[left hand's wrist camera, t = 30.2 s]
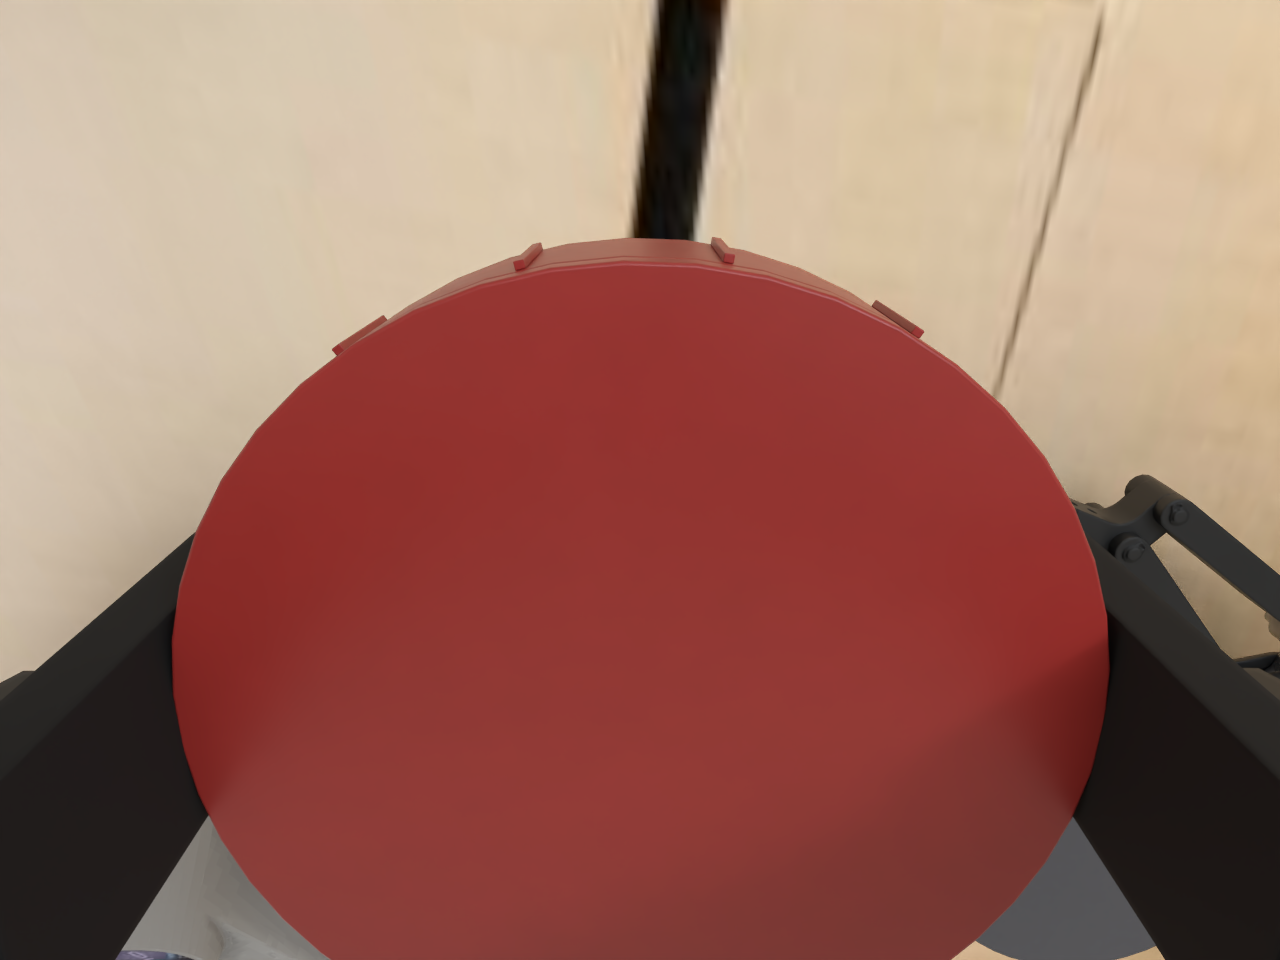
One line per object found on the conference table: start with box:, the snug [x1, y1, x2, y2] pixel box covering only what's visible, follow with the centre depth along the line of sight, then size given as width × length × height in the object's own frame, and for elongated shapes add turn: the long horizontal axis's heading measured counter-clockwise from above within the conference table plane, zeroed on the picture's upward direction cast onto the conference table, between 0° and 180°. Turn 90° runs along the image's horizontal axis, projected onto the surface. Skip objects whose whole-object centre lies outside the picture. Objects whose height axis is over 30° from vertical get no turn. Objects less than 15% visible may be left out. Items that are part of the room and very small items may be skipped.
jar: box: [976, 817, 1156, 960], centre depth 32 cm, size 9×9×16 cm
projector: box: [115, 815, 330, 960], centre depth 36 cm, size 22×23×15 cm
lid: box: [172, 237, 1110, 960], centre depth 11 cm, size 10×10×2 cm
